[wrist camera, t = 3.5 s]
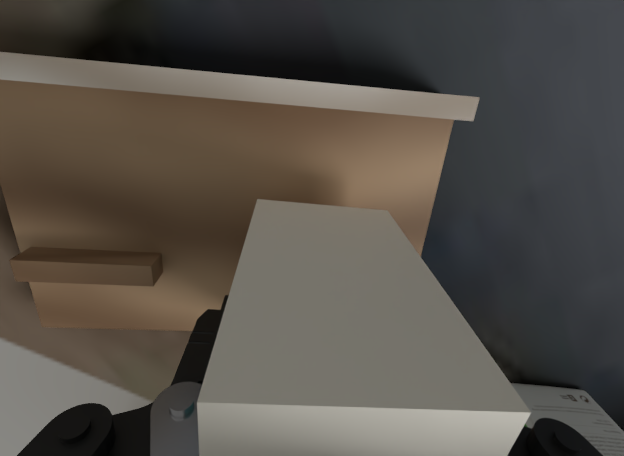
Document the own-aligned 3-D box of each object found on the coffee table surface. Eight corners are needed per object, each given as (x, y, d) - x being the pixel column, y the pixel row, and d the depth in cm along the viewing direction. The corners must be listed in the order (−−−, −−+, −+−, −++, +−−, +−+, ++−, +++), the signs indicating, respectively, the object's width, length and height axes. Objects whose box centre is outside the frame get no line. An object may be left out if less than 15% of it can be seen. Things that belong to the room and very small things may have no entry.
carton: (249, 342, 15) (204, 618, 7) (255, 199, 12) (193, 402, 5) (357, 347, 16) (419, 611, 8) (387, 210, 13) (531, 412, 5)
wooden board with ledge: (-5, 52, 13) (-85, 43, 10) (443, 95, 14) (479, 97, 12) (61, 308, 17) (18, 349, 15) (393, 318, 19) (410, 357, 16)
